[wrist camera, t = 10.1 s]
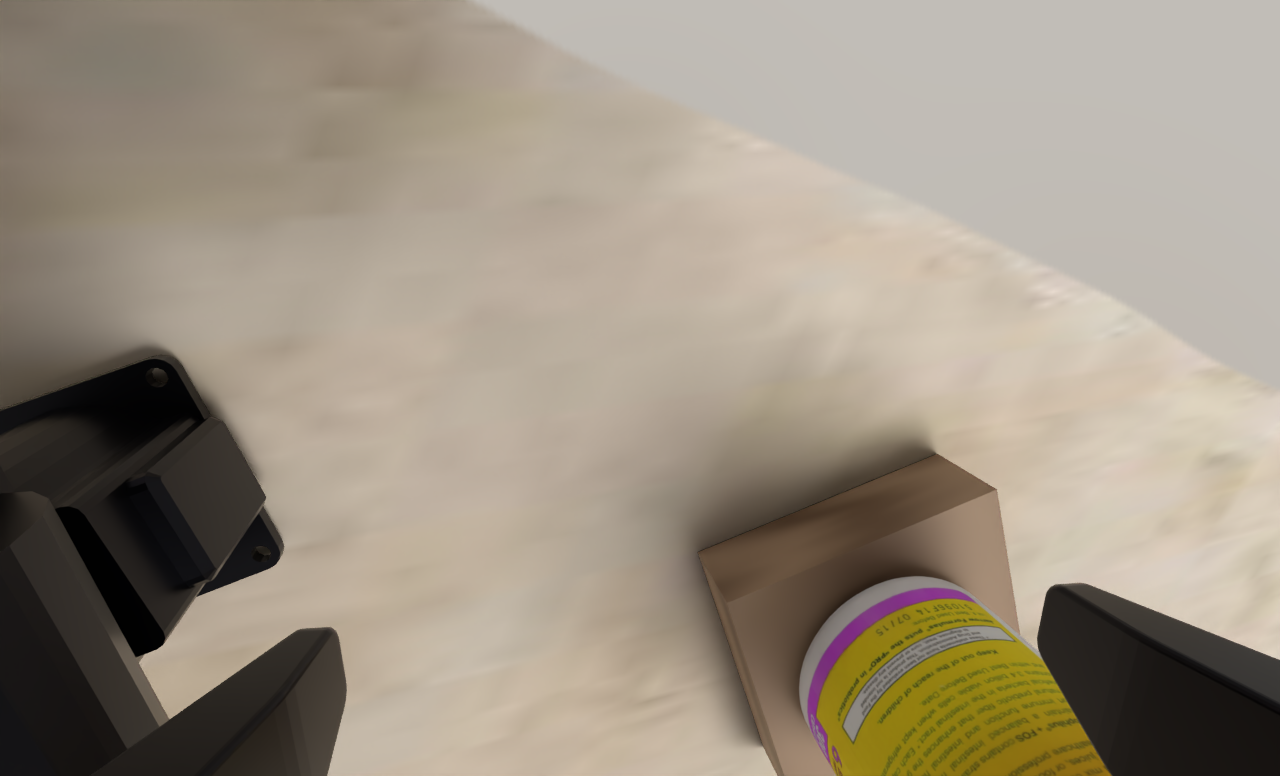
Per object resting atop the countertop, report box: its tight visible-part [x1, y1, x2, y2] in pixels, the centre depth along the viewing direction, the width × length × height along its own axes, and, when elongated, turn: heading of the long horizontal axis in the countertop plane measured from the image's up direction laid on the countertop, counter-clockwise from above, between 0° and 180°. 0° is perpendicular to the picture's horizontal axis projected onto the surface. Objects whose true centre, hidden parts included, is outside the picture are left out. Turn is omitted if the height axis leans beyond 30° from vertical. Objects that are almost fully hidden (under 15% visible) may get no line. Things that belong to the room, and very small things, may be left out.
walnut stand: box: [698, 454, 1020, 776], centre depth 24 cm, size 9×9×3 cm
